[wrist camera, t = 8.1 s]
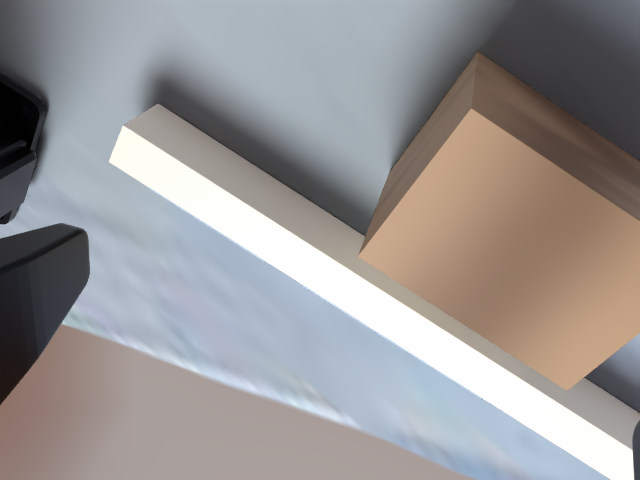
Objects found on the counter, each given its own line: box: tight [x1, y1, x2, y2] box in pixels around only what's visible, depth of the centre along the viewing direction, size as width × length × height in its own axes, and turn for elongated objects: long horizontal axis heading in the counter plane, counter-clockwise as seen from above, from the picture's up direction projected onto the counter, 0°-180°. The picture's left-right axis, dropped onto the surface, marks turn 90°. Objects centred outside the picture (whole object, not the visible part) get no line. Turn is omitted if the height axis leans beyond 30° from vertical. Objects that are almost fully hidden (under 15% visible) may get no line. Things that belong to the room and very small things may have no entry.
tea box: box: [358, 51, 640, 391], centre depth 18 cm, size 7×5×6 cm
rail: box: [109, 104, 640, 480], centre depth 23 cm, size 24×2×2 cm, turn 60°
